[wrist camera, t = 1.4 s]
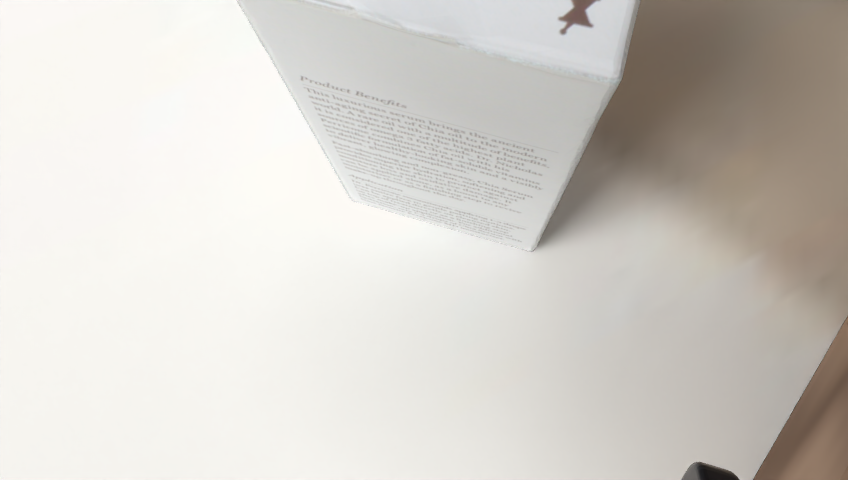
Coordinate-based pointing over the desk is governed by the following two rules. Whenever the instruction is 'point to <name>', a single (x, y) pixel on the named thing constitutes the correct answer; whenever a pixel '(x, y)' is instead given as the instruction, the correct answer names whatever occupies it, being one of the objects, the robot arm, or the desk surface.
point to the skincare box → (451, 99)
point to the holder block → (816, 425)
